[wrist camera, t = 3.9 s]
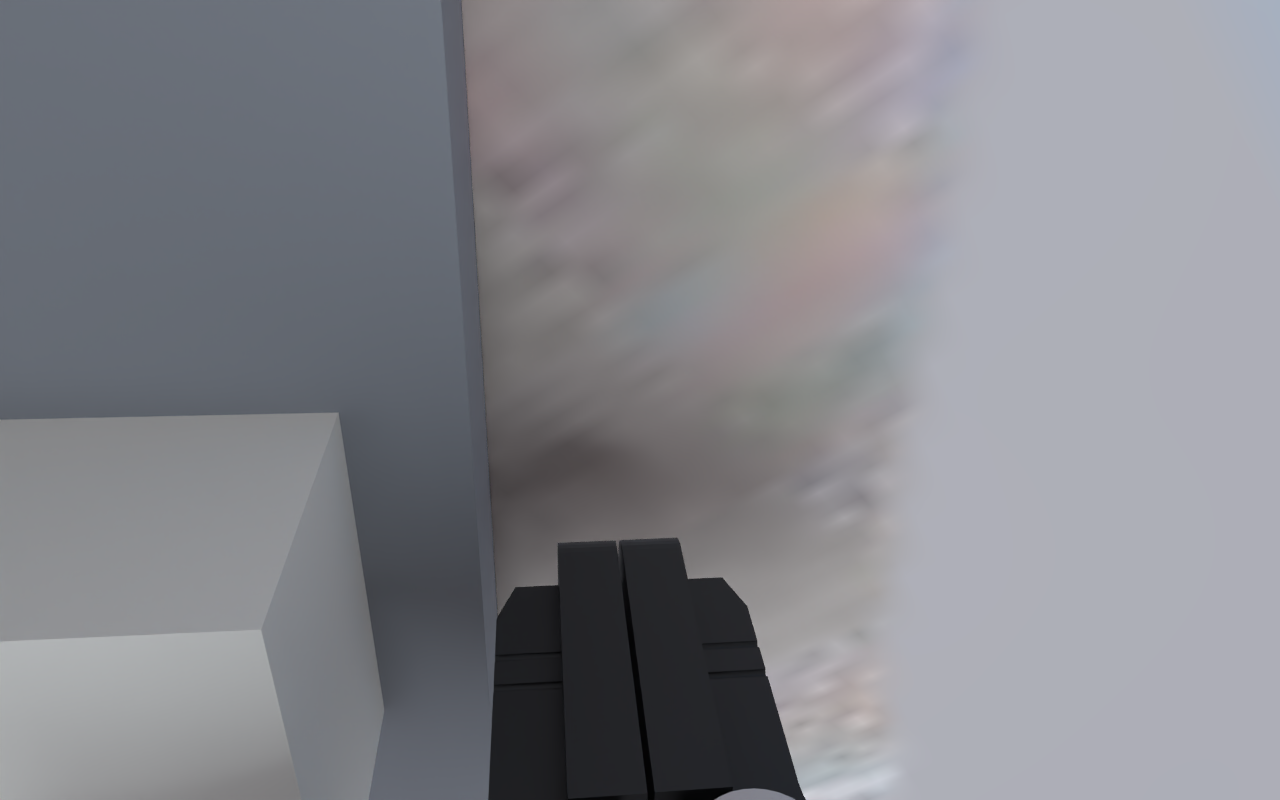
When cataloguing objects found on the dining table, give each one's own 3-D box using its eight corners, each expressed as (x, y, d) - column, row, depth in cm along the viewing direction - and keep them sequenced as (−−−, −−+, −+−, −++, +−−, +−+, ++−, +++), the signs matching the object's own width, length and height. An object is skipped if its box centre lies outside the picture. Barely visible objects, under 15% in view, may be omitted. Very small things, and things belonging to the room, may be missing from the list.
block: (-227, 424, 10) (-556, 667, 7) (338, 412, 11) (260, 629, 8) (-64, 734, 12) (-253, 1009, 9) (384, 709, 13) (339, 961, 10)
